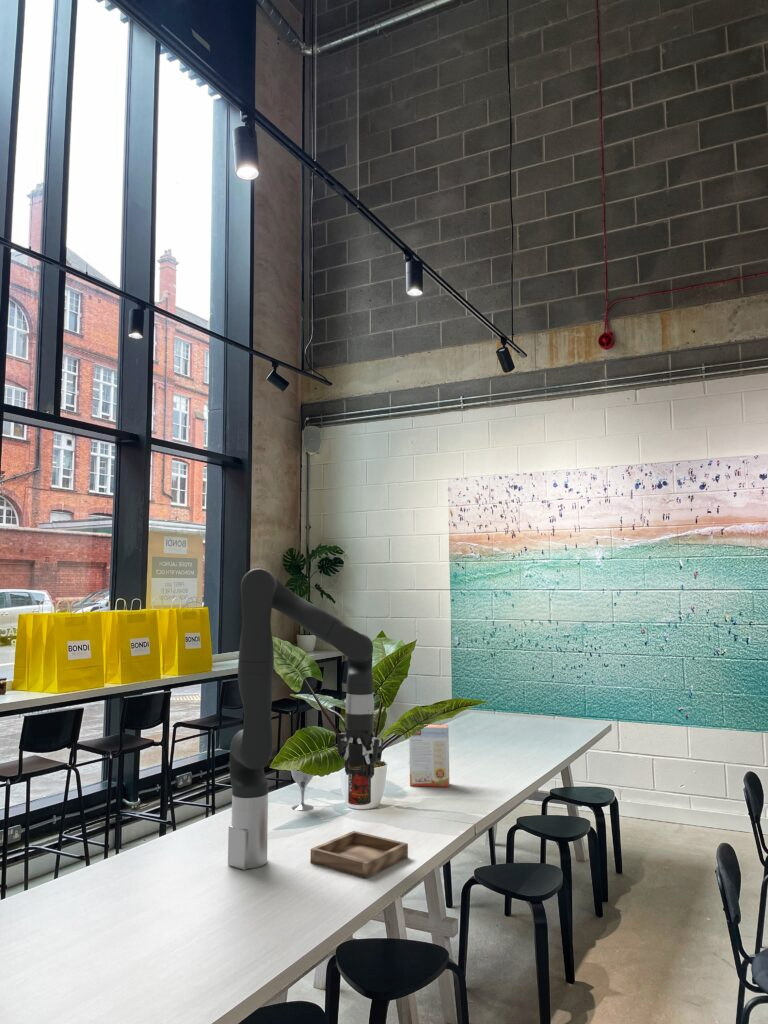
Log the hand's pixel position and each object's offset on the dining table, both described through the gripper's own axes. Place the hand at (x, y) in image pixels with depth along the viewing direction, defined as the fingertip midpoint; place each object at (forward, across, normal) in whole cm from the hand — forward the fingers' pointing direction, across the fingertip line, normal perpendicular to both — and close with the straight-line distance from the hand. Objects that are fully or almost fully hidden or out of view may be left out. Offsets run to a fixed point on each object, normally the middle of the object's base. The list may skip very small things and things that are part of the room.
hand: (359, 776), depth 198 cm
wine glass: (+21, -44, +27) cm, 56 cm away
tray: (+21, 0, 0) cm, 21 cm away
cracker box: (+21, -26, +75) cm, 82 cm away
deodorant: (+7, 0, 0) cm, 7 cm away
